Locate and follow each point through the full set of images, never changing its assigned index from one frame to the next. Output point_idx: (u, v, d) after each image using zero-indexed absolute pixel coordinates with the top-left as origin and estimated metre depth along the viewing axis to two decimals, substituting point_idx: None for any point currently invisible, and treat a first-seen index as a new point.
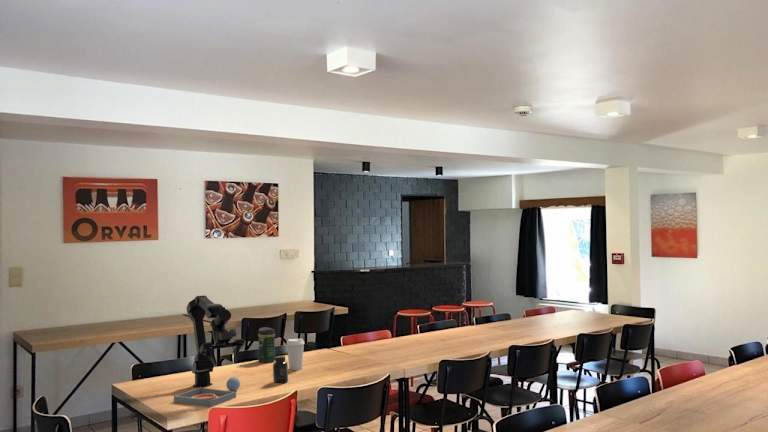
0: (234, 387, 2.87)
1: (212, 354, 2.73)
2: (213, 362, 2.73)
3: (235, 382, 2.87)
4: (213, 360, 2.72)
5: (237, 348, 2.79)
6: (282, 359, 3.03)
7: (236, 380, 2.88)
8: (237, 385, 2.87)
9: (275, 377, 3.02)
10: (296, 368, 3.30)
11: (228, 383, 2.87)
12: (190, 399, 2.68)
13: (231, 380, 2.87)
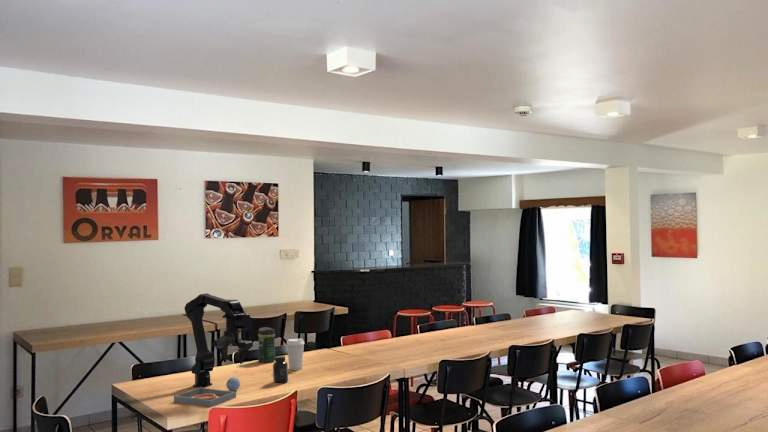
0: (234, 387, 2.87)
1: (220, 352, 2.91)
2: None
3: (235, 382, 2.87)
4: None
5: (239, 351, 2.85)
6: (282, 359, 3.03)
7: (236, 380, 2.88)
8: (237, 385, 2.87)
9: (275, 377, 3.02)
10: (296, 368, 3.30)
11: (228, 383, 2.87)
12: (190, 399, 2.68)
13: (231, 380, 2.87)
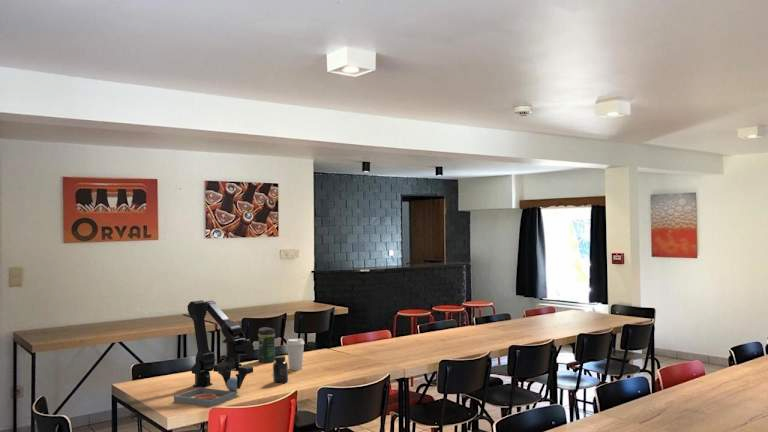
0: (234, 387, 2.87)
1: (223, 377, 2.90)
2: None
3: (235, 382, 2.87)
4: (225, 382, 2.91)
5: (237, 376, 2.86)
6: (282, 359, 3.03)
7: (236, 380, 2.88)
8: None
9: (275, 377, 3.02)
10: (296, 368, 3.30)
11: (228, 383, 2.87)
12: (190, 399, 2.68)
13: (231, 380, 2.87)
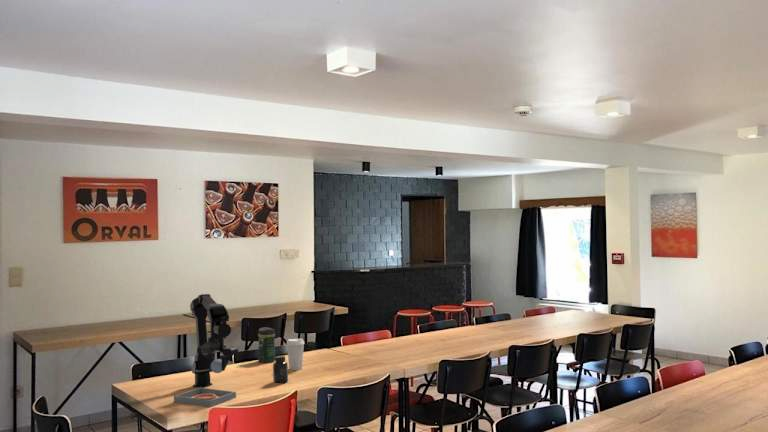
0: (218, 369, 2.78)
1: (207, 359, 2.82)
2: None
3: (219, 364, 2.79)
4: (209, 364, 2.82)
5: (221, 358, 2.77)
6: (282, 359, 3.03)
7: (220, 362, 2.80)
8: None
9: (275, 377, 3.02)
10: (296, 368, 3.30)
11: (212, 365, 2.79)
12: (190, 399, 2.68)
13: (215, 362, 2.79)
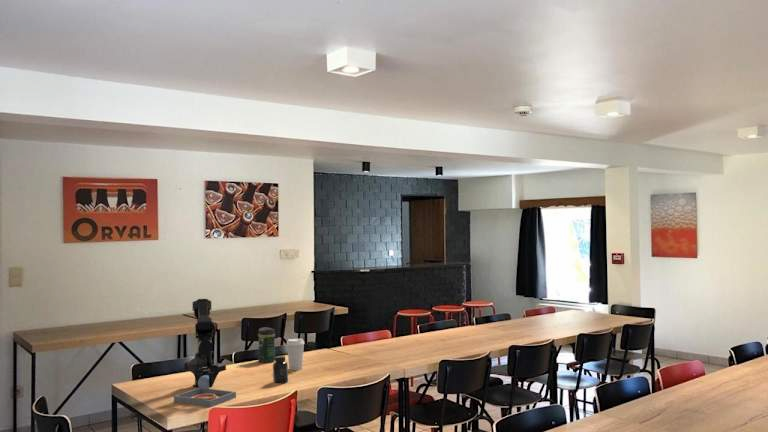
0: (206, 386, 2.72)
1: (195, 375, 2.75)
2: None
3: (207, 380, 2.73)
4: (196, 380, 2.76)
5: (209, 374, 2.71)
6: (282, 359, 3.03)
7: (208, 378, 2.73)
8: None
9: (275, 377, 3.02)
10: (296, 368, 3.30)
11: (199, 381, 2.72)
12: (190, 399, 2.68)
13: (203, 378, 2.73)
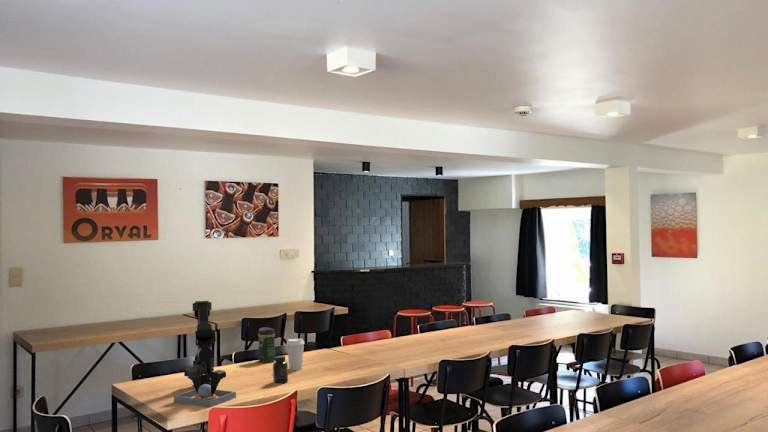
0: (206, 394, 2.72)
1: (193, 382, 2.76)
2: None
3: (207, 389, 2.72)
4: (195, 387, 2.76)
5: (210, 382, 2.71)
6: (282, 359, 3.03)
7: (208, 387, 2.73)
8: (209, 392, 2.73)
9: (275, 377, 3.02)
10: (296, 368, 3.30)
11: (199, 390, 2.72)
12: (190, 399, 2.68)
13: (203, 387, 2.73)
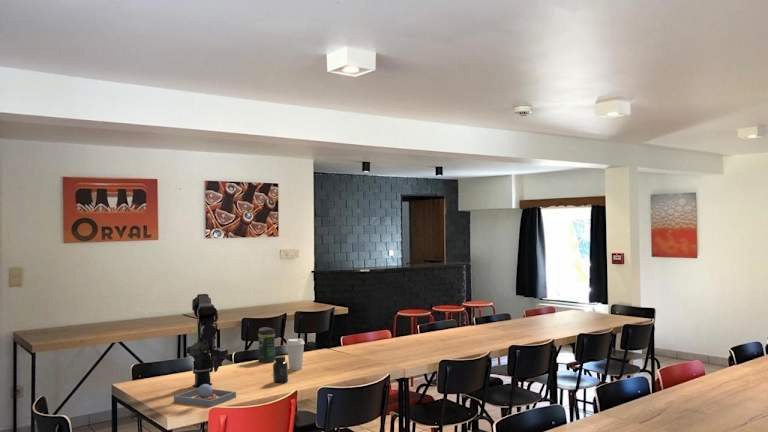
0: (206, 394, 2.72)
1: (195, 359, 2.79)
2: None
3: (207, 389, 2.72)
4: (196, 364, 2.80)
5: (213, 359, 2.74)
6: (282, 359, 3.03)
7: (208, 387, 2.73)
8: (209, 392, 2.73)
9: (275, 377, 3.02)
10: (296, 368, 3.30)
11: (199, 390, 2.72)
12: (190, 399, 2.68)
13: (202, 387, 2.73)
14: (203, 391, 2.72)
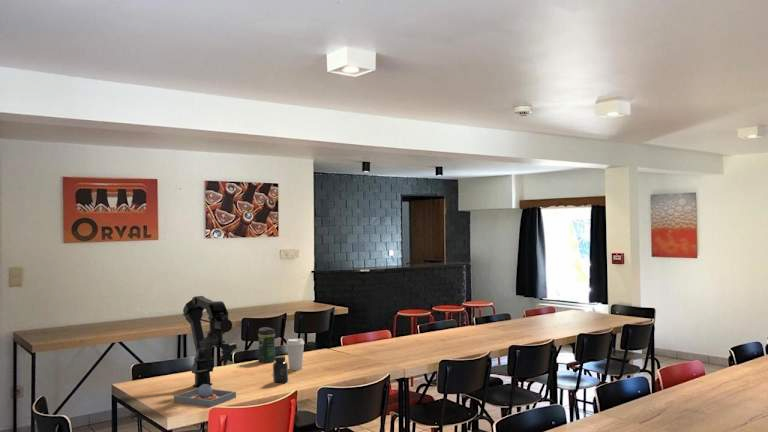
0: (206, 394, 2.72)
1: (204, 353, 2.90)
2: None
3: (206, 389, 2.72)
4: (206, 358, 2.90)
5: (223, 353, 2.84)
6: (282, 359, 3.03)
7: (208, 387, 2.73)
8: (209, 392, 2.73)
9: (275, 377, 3.02)
10: (296, 368, 3.30)
11: (199, 390, 2.72)
12: (190, 399, 2.68)
13: (202, 387, 2.73)
14: (203, 391, 2.72)
